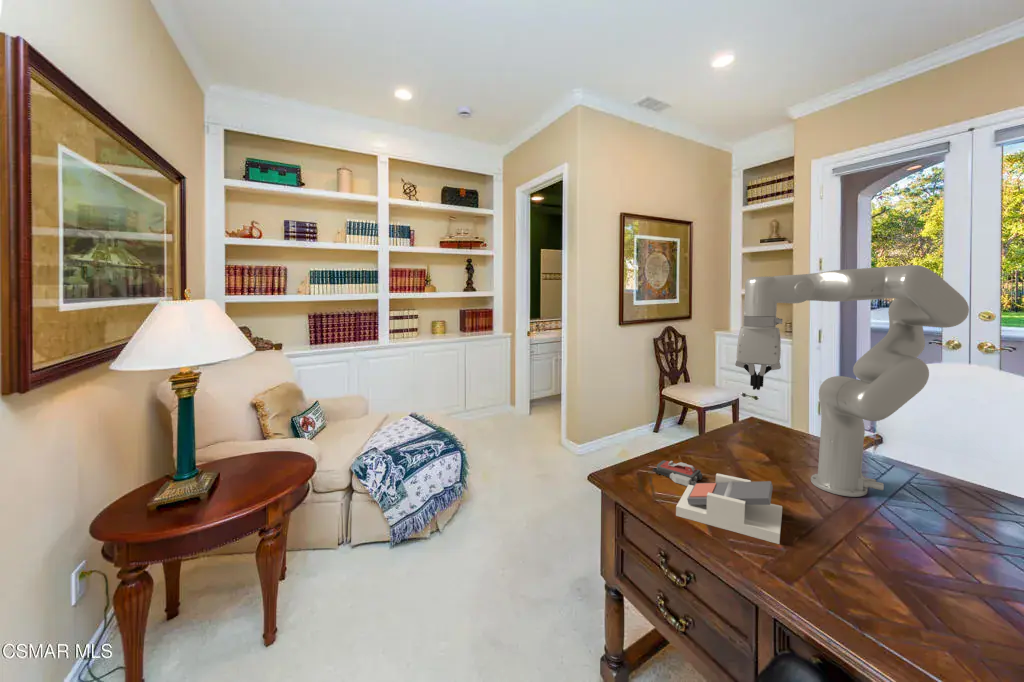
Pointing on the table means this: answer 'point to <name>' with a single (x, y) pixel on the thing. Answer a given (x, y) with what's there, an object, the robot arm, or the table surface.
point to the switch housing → (734, 513)
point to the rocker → (733, 492)
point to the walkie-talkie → (679, 472)
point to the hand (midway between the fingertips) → (756, 388)
